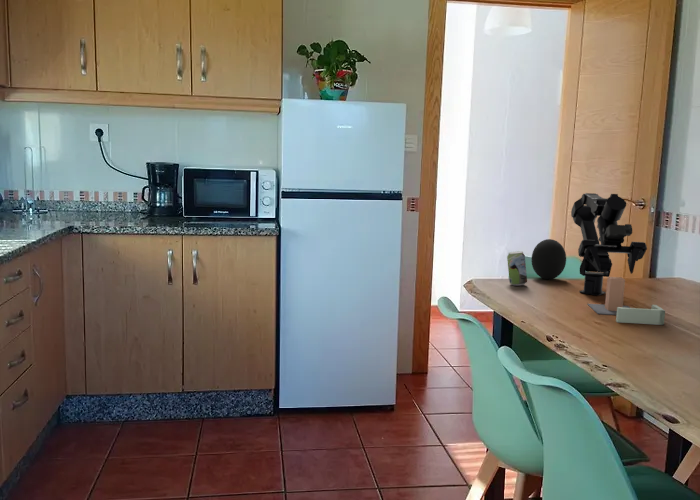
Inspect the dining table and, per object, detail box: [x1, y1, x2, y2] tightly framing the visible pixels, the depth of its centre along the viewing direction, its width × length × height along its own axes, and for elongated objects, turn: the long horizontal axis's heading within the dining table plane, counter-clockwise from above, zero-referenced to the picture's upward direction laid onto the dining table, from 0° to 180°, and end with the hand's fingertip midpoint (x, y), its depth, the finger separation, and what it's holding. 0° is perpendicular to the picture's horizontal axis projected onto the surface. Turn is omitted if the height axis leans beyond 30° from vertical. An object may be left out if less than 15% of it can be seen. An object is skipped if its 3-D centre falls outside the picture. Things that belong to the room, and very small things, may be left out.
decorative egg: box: [531, 238, 567, 280], centre depth 229 cm, size 12×12×15 cm
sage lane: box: [615, 304, 666, 326], centre depth 172 cm, size 7×12×4 cm, turn 83°
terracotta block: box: [604, 276, 626, 311], centre depth 183 cm, size 4×4×10 cm
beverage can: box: [506, 250, 528, 286], centre depth 217 cm, size 6×7×12 cm
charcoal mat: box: [587, 303, 631, 316], centre depth 184 cm, size 12×12×1 cm
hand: (615, 272), depth 183 cm, fingers open, 9 cm apart
